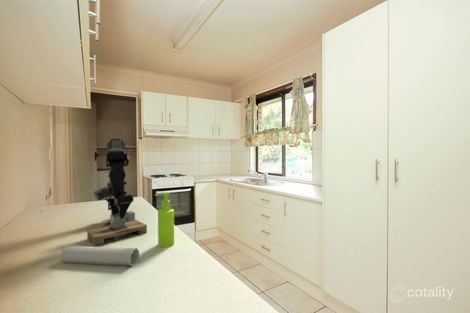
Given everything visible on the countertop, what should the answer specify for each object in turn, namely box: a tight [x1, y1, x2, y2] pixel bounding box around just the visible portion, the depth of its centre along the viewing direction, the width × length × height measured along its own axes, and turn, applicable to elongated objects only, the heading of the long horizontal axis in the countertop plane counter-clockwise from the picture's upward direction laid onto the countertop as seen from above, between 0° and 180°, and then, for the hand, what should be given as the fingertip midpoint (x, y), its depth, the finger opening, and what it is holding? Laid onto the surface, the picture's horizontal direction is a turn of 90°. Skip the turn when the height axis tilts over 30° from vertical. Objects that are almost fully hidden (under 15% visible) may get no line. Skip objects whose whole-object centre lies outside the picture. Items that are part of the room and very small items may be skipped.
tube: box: [60, 245, 140, 267], centre depth 74 cm, size 5×5×25 cm
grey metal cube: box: [101, 219, 110, 227], centre depth 105 cm, size 4×4×4 cm
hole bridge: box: [86, 219, 148, 247], centre depth 97 cm, size 11×20×4 cm, turn 136°
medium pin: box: [125, 210, 136, 222], centre depth 112 cm, size 4×4×6 cm
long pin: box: [109, 213, 126, 239], centre depth 97 cm, size 4×4×9 cm
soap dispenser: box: [154, 191, 175, 248], centre depth 88 cm, size 6×7×20 cm
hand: (117, 216), depth 97 cm, fingers open, 9 cm apart
